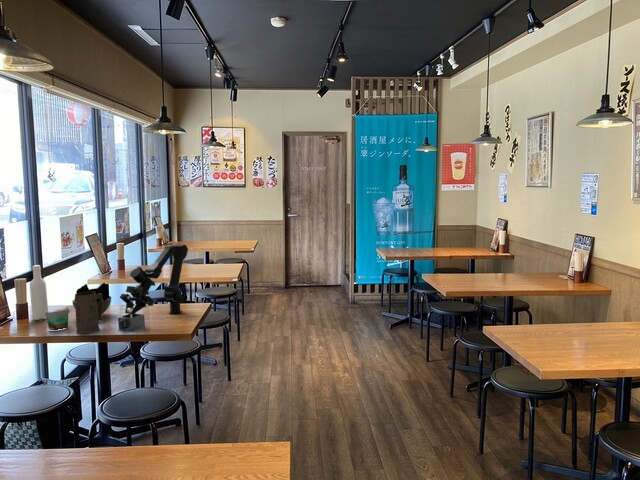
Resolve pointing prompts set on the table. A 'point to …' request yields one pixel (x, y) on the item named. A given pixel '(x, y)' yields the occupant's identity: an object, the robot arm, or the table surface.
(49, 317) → the food container
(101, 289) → the coal bowl
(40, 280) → the bottle
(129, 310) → the plunger
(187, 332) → the table surface
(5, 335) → the table surface
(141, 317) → the press body
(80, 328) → the beer stein
